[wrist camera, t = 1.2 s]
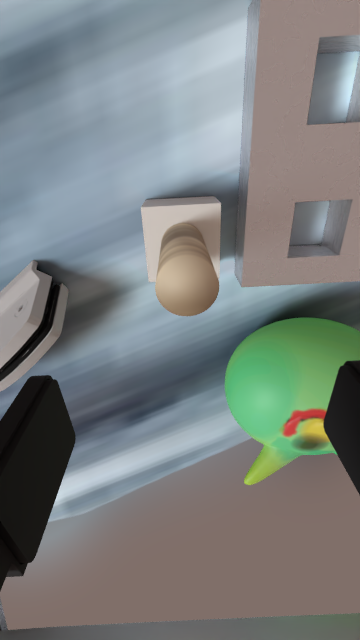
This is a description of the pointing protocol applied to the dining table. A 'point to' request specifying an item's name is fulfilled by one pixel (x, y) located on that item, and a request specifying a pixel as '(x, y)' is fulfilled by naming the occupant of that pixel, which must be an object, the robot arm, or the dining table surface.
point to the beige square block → (180, 210)
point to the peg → (185, 272)
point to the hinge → (28, 321)
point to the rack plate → (296, 146)
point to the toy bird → (287, 387)
